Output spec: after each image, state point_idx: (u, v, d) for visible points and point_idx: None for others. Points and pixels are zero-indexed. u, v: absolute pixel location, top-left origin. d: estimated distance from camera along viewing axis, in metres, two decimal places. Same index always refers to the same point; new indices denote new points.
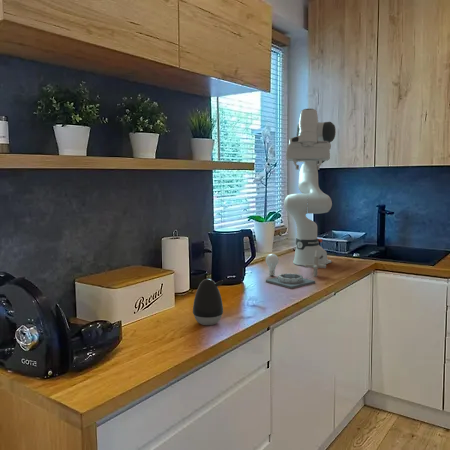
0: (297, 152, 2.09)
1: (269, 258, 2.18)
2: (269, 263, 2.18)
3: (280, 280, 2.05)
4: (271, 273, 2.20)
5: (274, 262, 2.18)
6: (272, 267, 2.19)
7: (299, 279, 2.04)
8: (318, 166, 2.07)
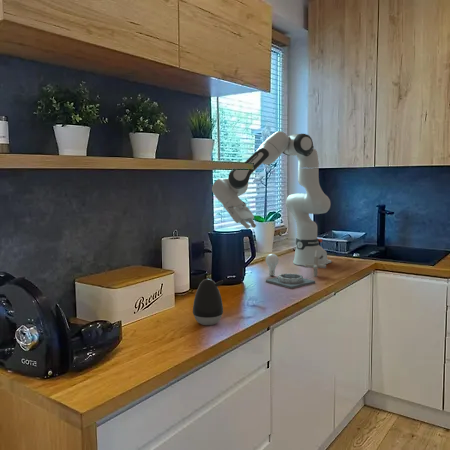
0: None
1: (269, 258, 2.18)
2: (269, 263, 2.18)
3: (280, 280, 2.05)
4: (271, 273, 2.20)
5: (274, 262, 2.18)
6: (272, 267, 2.19)
7: (299, 279, 2.04)
8: None
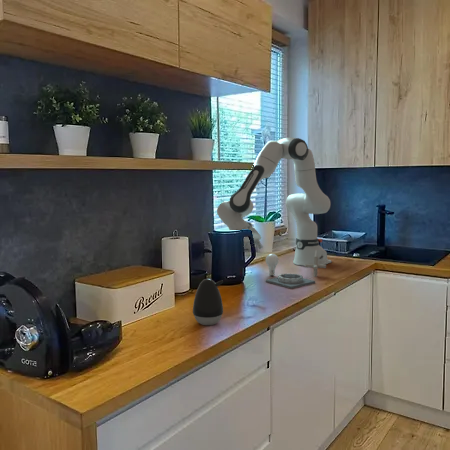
0: None
1: (269, 258, 2.18)
2: (269, 263, 2.18)
3: (280, 280, 2.05)
4: (271, 273, 2.20)
5: (274, 262, 2.18)
6: (272, 267, 2.19)
7: (299, 279, 2.04)
8: None
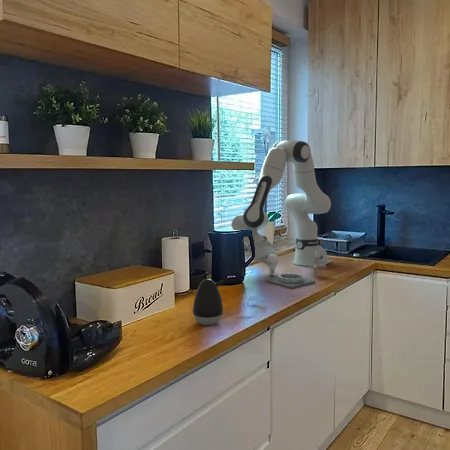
0: None
1: (269, 258, 2.18)
2: None
3: (280, 280, 2.05)
4: (271, 273, 2.20)
5: (274, 262, 2.18)
6: (272, 267, 2.19)
7: (299, 279, 2.04)
8: None
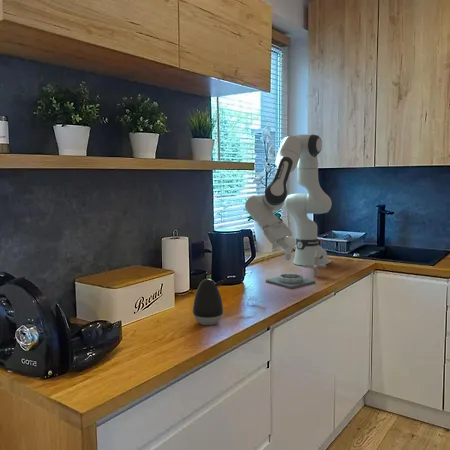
0: None
1: (285, 240, 2.05)
2: None
3: (280, 280, 2.05)
4: (287, 257, 2.07)
5: (290, 245, 2.05)
6: (288, 250, 2.06)
7: (299, 279, 2.04)
8: None
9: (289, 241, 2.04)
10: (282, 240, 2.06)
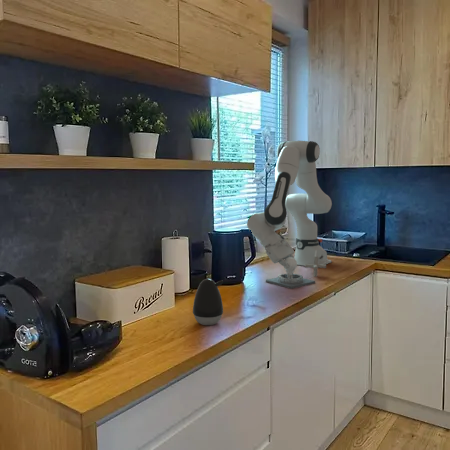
0: None
1: (287, 262, 2.04)
2: None
3: (280, 280, 2.05)
4: None
5: (292, 266, 2.04)
6: (290, 271, 2.05)
7: (299, 279, 2.04)
8: None
9: (291, 262, 2.04)
10: None
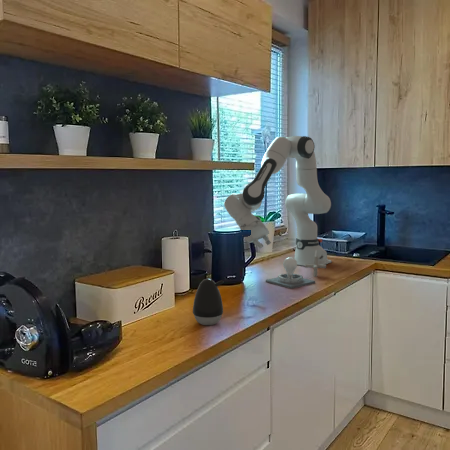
0: None
1: (287, 262, 2.04)
2: (287, 267, 2.04)
3: (280, 280, 2.05)
4: None
5: (292, 266, 2.04)
6: (290, 271, 2.05)
7: (299, 279, 2.04)
8: None
9: (291, 262, 2.04)
10: (284, 261, 2.06)
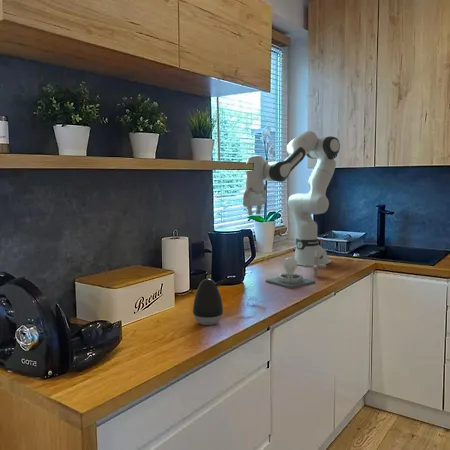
0: None
1: (287, 262, 2.04)
2: (287, 267, 2.04)
3: (280, 280, 2.05)
4: None
5: (292, 266, 2.04)
6: (290, 271, 2.05)
7: (299, 279, 2.04)
8: None
9: (291, 262, 2.04)
10: (284, 261, 2.06)
